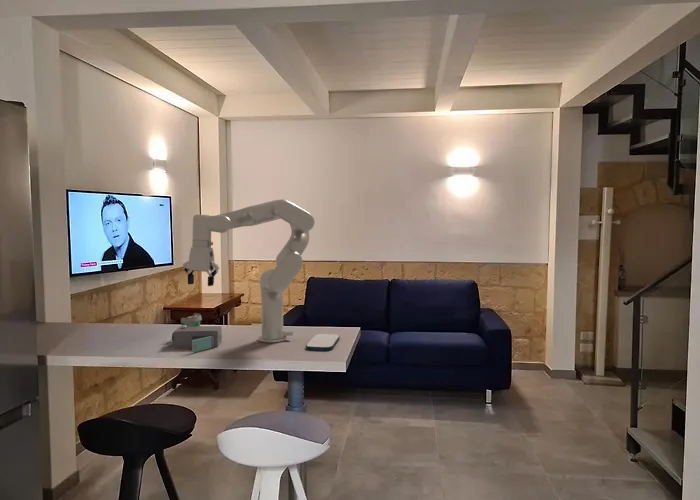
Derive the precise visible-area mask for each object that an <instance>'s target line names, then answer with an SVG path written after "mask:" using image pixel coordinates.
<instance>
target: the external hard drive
mask: <svg viewBox="0 0 700 500" xmlns="http://www.w3.org/2000/svg"><path fill="white" fill-rule="evenodd" d="M340 339H341V338H340V335H339V334H336V333H335V334H334V333H318V334H315V335H313V337H311V339H310V340H308V342H307V343H306V345H305V349H306V350H307V351H315V352H316V351H318V352H330V351H332V350H333V349H334V348H335V346H337V343H338V342H339V341H340Z"/></svg>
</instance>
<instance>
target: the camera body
mask: <svg viewBox="0 0 700 500" xmlns="http://www.w3.org/2000/svg"><path fill="white" fill-rule="evenodd" d="M222 330H223V329H222V325H217V326H215V325H213V326H211V325H207V326H206V325H202V326H201V325H200V326H196V327H187V326H186V325H182V324H181V325H180V326H179V327H177V328H176V329H175V330H174V331H173V332H172V335H171V341H172V342H173V346H174V347H173V348H175V349H181V348H184V347H192V340H196V339H200V338H204V337H209V336H214V348H219V346H220V345H221V344H222V342H223V341H222V334H223V333H222Z"/></svg>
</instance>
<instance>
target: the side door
mask: <svg viewBox="0 0 700 500" xmlns="http://www.w3.org/2000/svg"><path fill="white" fill-rule="evenodd" d="M214 348H215V347H214V336H209V337H204V338H200V339H196V340H192V348H191V352H192V353H196V352H200V351H204V350H208V349H214Z"/></svg>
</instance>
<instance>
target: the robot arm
mask: <svg viewBox="0 0 700 500" xmlns="http://www.w3.org/2000/svg"><path fill="white" fill-rule="evenodd" d="M277 220H282V221H284V222H286V223H288V224H289V226H290V230H291V232H290V233H291V234H290V236H289V239H288V240H287V242H286V243H285V245H284V246H283V248H282V249H281V250H280V252H279V253H278V254H277V256H276V257H275V258H276V259H275V265H276V267H275V268H270V269H269V268H268V269H266V270H264V271H263V272H262V273H261V275H260V278H259V286H260V295H261V305H260V306H261V335H259V336H258V339H257V340H258V341H259V342H262V343H268V344H269V343H270V344H271V343H280V342H284V341H287V336H290V337H291V336H293V337H294V331H293V330H292V331H291V330H285V328H284V298H283V297H284V296H283V292H285V291H286V290H287V289H288V288H289V287H290V285H291V284H292V282H293V281H294V279H295V278H296V277H297V275H298V273H300V271H301V269H302V267H303V258H302V257H303V256H302V255H303V253H304V251H305V250H306V248H307V246H308V245H309V242H310V231H311V230H312V229H313V228H314V227H315V226H314V225H315V217H314V216H313V215H312V214H311V213H310V212H309V211H307V210H305V209H303V208H302V207H300V206H298V205H296V204H295V203H293V202H291V201H289V200H287V199H284V198H283V199H276V200H271V201H267V202H262V203H259V204H254V205H250V206H247V207H243V208H241V209H237V210H233V211H228V212H224V213H220V214H217V215H209V214H194V215H193V217H192V238H191V239H192V241H191V242H192V245H191V247H190V251H189V256H188V261H186V262H184V263H182V267H183V269H184V272H185V273H186V275H187V284H188V285H193V284H195V274H194V273H195V272H203V273H205V272H206V273H207V275H208V277H207V286H208V287H213V286H214V283H215V276H216V275H217V274H218V273H219V270H220V268H221V267H220V265H219V264H217V263H216V262H215V254H214V253H215V252H214V248H213V247H212V246H213V245H214V242H213V241H212V232H214V233H220V234H223V233H224V234H225V233H227V232H228V231H230V230H233V229H237V228H241V227H242V228H243V227H254V226H258V225H262V224H265V223H269V222H273V221H277Z"/></svg>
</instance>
